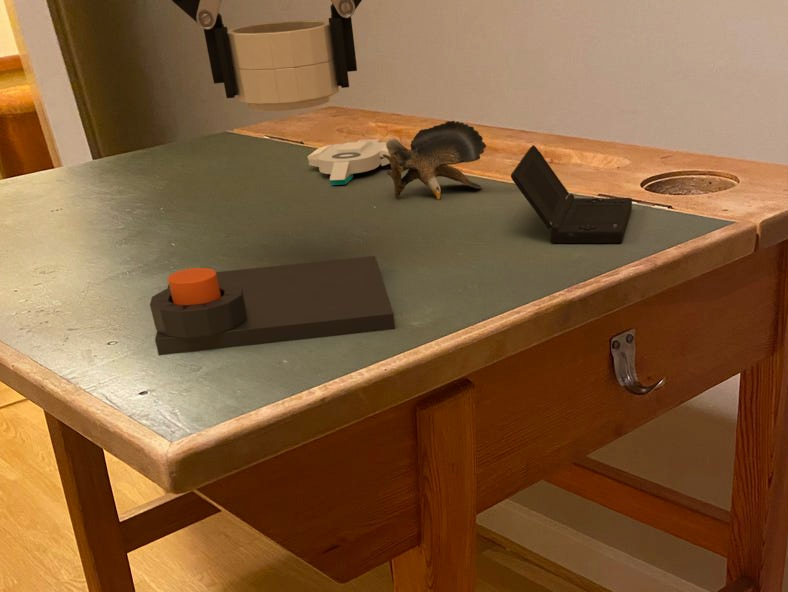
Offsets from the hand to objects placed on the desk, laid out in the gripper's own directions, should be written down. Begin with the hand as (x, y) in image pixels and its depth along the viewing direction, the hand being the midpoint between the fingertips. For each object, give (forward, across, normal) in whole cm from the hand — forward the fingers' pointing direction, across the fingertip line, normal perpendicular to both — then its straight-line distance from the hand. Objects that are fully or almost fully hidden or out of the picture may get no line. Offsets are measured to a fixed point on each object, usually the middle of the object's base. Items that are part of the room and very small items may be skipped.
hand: (287, 87), depth 69 cm
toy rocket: (+14, +6, +42) cm, 45 cm away
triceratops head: (+14, +13, +27) cm, 33 cm away
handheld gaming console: (+14, +23, +11) cm, 29 cm away
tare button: (+11, -8, -7) cm, 16 cm away
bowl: (+1, 0, 0) cm, 1 cm away
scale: (+14, -3, -3) cm, 15 cm away
